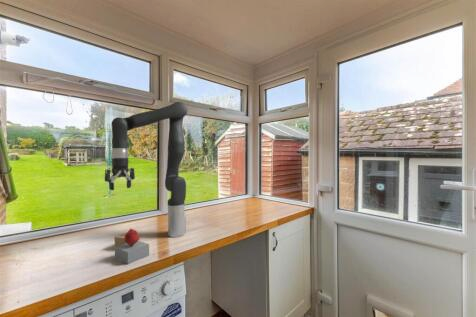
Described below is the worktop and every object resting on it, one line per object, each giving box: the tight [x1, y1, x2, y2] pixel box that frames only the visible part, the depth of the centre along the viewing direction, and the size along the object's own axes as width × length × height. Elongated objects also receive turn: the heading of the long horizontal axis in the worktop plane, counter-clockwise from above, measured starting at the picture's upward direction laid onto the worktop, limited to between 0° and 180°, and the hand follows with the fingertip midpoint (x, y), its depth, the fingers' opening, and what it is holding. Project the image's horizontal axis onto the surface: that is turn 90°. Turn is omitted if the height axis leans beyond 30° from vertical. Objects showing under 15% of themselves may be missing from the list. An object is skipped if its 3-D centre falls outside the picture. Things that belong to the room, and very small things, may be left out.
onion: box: [125, 227, 140, 246], centre depth 99 cm, size 6×6×8 cm
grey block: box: [114, 240, 150, 265], centre depth 99 cm, size 10×10×5 cm
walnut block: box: [114, 231, 128, 248], centre depth 110 cm, size 7×7×6 cm
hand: (120, 189), depth 114 cm, fingers open, 8 cm apart
